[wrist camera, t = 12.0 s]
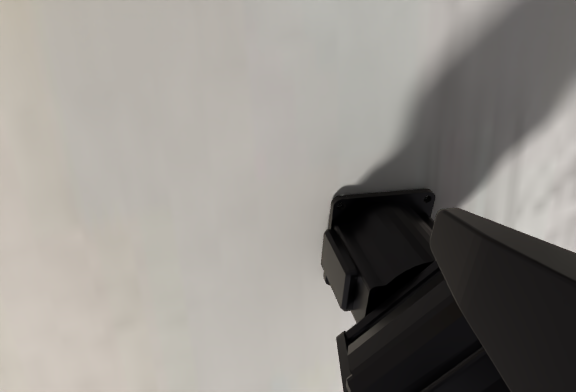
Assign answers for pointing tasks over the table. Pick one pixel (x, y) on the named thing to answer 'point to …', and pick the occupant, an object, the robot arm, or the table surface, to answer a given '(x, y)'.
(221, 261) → the table surface
